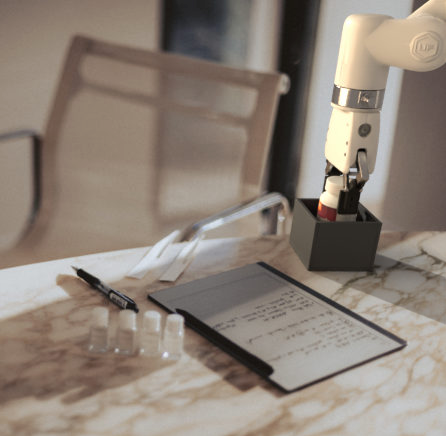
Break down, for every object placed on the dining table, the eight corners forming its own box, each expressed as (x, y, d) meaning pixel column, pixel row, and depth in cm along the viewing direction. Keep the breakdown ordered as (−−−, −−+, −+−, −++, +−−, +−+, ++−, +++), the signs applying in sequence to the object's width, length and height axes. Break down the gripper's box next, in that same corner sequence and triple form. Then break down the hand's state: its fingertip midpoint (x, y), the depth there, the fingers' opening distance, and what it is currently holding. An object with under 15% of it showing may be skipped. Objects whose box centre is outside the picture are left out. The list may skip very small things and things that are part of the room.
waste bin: (347, 243, 112) (356, 198, 109) (372, 271, 102) (382, 223, 99) (288, 242, 112) (295, 197, 108) (307, 270, 102) (315, 222, 98)
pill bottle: (306, 237, 108) (315, 175, 103) (337, 234, 109) (348, 173, 105) (325, 252, 102) (336, 188, 98) (358, 249, 104) (370, 185, 99)
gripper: (407, 111, 88) (382, 227, 95) (359, 87, 104) (341, 188, 111) (355, 110, 88) (334, 226, 95) (315, 86, 104) (300, 187, 111)
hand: (338, 205), depth 103 cm, fingers closed on pill bottle, 6 cm apart
